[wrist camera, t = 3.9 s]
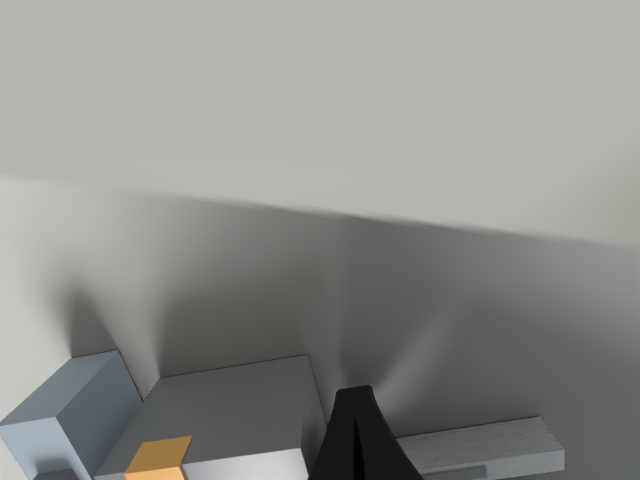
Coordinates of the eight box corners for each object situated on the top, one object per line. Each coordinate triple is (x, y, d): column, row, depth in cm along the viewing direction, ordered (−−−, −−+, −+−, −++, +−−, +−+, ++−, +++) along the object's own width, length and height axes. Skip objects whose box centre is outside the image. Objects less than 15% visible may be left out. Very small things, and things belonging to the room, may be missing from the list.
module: (308, 353, 13) (299, 449, 9) (328, 435, 14) (329, 551, 10) (159, 377, 14) (90, 478, 10) (191, 454, 15) (143, 572, 11)
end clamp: (118, 350, 13) (39, 434, 10) (175, 471, 15) (127, 579, 11) (70, 358, 13) (-26, 445, 10) (133, 477, 15) (73, 586, 12)
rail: (539, 416, 14) (565, 451, 12) (540, 435, 14) (565, 471, 13) (122, 479, 15) (100, 517, 14) (131, 495, 16) (110, 533, 14)
